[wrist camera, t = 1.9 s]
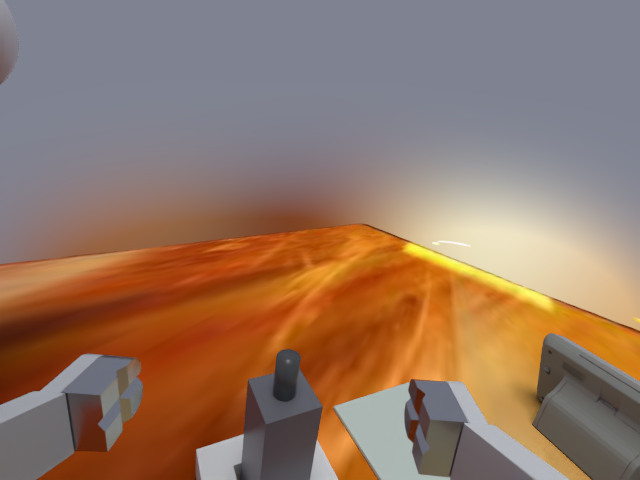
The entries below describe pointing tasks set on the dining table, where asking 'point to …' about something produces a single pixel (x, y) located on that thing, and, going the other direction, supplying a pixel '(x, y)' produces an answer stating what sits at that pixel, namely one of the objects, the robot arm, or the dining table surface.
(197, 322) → the dining table surface
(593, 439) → the digital clock
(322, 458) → the socket block
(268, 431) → the plug
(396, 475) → the mat
